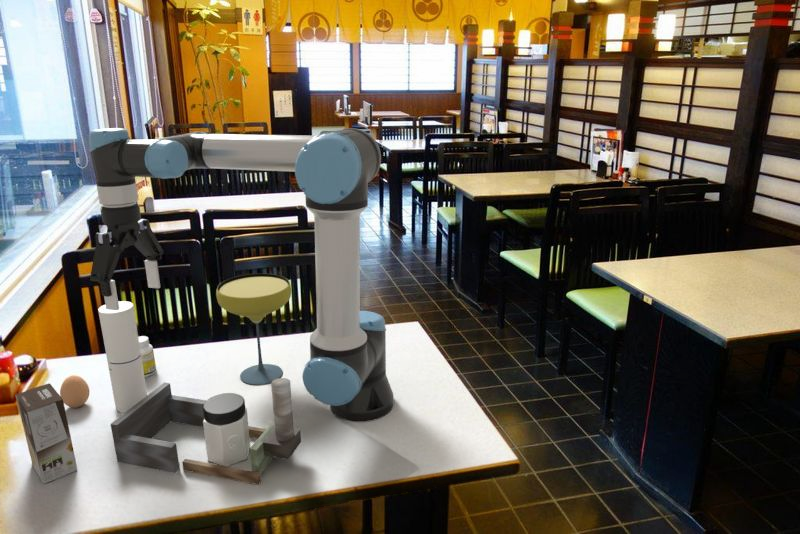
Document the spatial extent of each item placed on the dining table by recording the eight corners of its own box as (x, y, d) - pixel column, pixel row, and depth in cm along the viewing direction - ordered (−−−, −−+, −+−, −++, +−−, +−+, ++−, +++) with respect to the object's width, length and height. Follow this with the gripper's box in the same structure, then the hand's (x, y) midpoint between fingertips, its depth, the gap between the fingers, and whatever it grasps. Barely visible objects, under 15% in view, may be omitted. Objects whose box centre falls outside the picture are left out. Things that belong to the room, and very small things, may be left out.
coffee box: (79, 469, 118) (64, 399, 113) (43, 485, 113) (26, 412, 108) (64, 449, 124) (50, 382, 119) (30, 463, 120) (13, 393, 115)
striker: (306, 447, 124) (302, 370, 118) (283, 480, 114) (277, 398, 108) (277, 442, 125) (271, 366, 120) (252, 474, 115) (244, 393, 110)
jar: (214, 471, 117) (207, 419, 113) (202, 450, 123) (195, 400, 120) (257, 456, 122) (252, 405, 118) (243, 436, 128) (238, 388, 124)
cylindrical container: (133, 414, 136) (116, 315, 129) (108, 409, 139) (90, 311, 131) (154, 399, 143) (140, 303, 135) (131, 394, 145) (115, 299, 137)
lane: (293, 437, 128) (290, 401, 125) (255, 488, 112) (251, 448, 109) (169, 417, 135) (164, 382, 133) (117, 462, 120) (110, 424, 117)
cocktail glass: (262, 399, 142) (253, 303, 135) (210, 380, 151) (199, 289, 144) (310, 369, 157) (305, 280, 149) (260, 353, 166) (253, 268, 158)
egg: (57, 409, 139) (51, 379, 136) (80, 397, 144) (74, 368, 141) (75, 415, 136) (68, 385, 134) (97, 402, 141) (91, 373, 139)
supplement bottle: (134, 370, 157) (128, 336, 154) (156, 366, 159) (151, 333, 156) (134, 379, 152) (128, 345, 149) (157, 375, 154) (151, 341, 151)
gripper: (143, 191, 137) (156, 278, 143) (57, 216, 114) (77, 317, 121) (171, 193, 135) (183, 280, 141) (90, 218, 112) (108, 321, 119)
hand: (134, 297), depth 131 cm, fingers open, 13 cm apart
